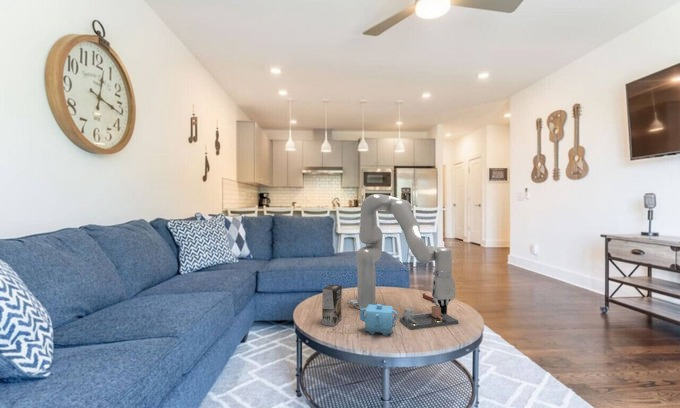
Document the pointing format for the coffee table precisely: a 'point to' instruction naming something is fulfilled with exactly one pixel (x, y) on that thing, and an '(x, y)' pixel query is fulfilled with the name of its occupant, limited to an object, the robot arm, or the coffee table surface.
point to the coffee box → (332, 305)
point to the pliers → (429, 299)
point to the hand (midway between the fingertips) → (443, 313)
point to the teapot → (378, 318)
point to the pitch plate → (425, 320)
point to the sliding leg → (436, 312)
